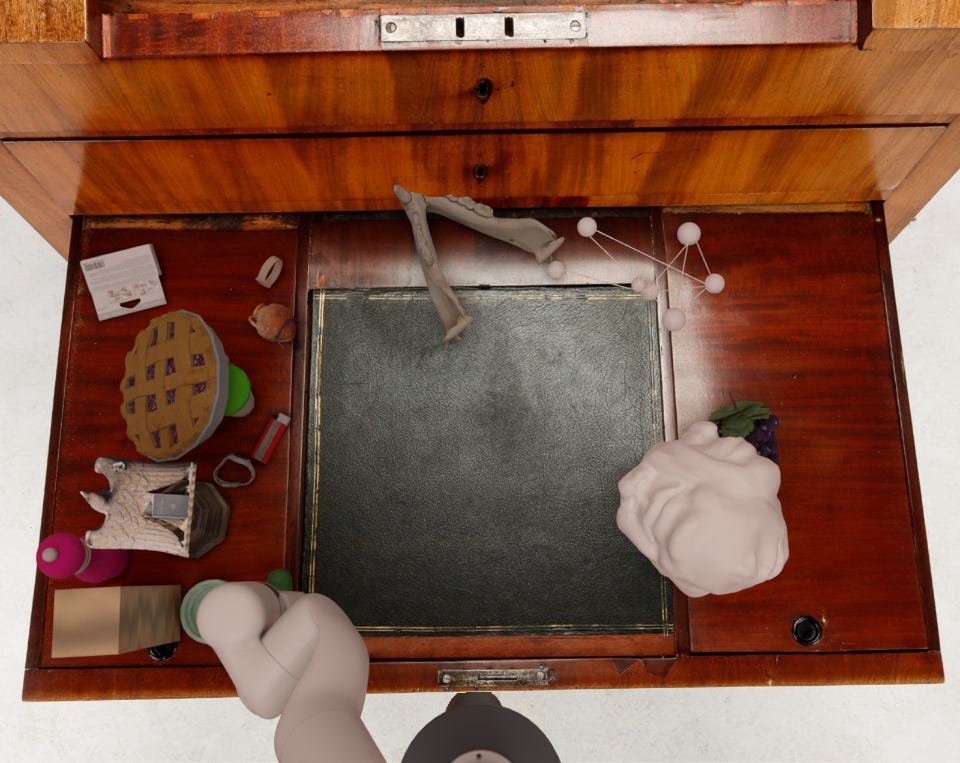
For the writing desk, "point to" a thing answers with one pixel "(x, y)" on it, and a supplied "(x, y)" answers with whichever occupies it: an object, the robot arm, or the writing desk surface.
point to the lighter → (270, 438)
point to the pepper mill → (79, 559)
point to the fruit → (749, 426)
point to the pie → (174, 386)
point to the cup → (238, 393)
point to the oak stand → (114, 619)
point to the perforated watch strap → (265, 269)
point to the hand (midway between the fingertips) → (281, 607)
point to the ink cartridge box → (124, 281)
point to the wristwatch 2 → (239, 460)
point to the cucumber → (280, 580)
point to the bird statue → (157, 508)
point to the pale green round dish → (196, 606)
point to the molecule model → (649, 290)
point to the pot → (275, 323)
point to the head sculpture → (706, 512)
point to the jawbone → (481, 219)
